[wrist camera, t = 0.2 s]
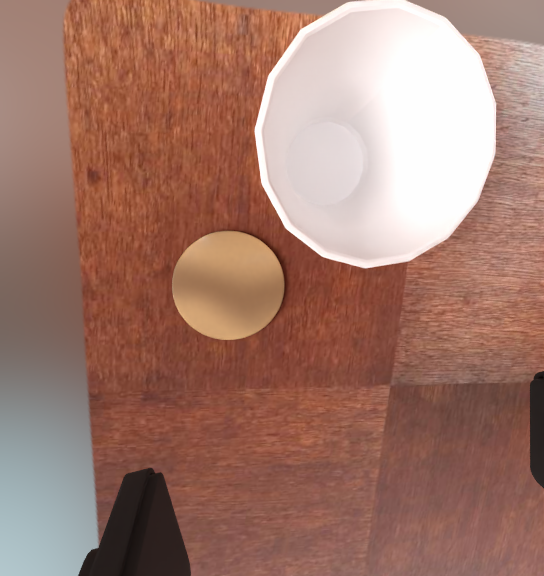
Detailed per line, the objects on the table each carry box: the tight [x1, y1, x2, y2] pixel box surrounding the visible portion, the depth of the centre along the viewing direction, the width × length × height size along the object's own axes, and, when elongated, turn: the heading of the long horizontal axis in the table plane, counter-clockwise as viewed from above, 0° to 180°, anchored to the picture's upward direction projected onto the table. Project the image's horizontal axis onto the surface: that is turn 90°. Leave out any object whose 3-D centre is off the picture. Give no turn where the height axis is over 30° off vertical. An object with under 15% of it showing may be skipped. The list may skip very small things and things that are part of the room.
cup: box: [255, 0, 496, 268], centre depth 23 cm, size 12×12×11 cm
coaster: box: [172, 231, 284, 340], centre depth 29 cm, size 9×9×1 cm
